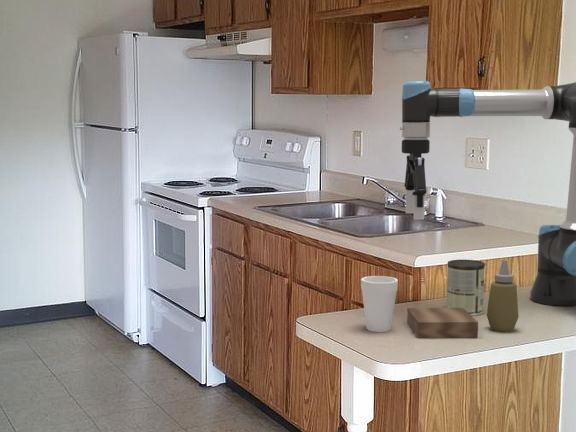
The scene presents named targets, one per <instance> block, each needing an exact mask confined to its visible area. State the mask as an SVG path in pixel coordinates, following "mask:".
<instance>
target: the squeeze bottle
mask: <svg viewBox="0 0 576 432" xmlns="http://www.w3.org/2000/svg"><path fill="white" fill-rule="evenodd" d="M517 288H518V287H517V284H516V283H514V275H513V274H511V273H510V271H509V265H508V261H507V260H501V264H500V268H499V272H498V273H497V272H496V273H495V274H494V281H492V282H491V283H490V288H489V295H488V304H487V311H486V317H487V320H488V321H487V322H488V324H489V327H490V329H491V330H494V331H498V332H512V331H514V330H515V328H516V325H517V322H518V320H519V304H518V303H519V302H518V291H517V290H518V289H517Z"/></svg>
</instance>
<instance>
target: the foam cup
mask: <svg viewBox="0 0 576 432" xmlns="http://www.w3.org/2000/svg"><path fill="white" fill-rule="evenodd" d="M398 281H399V279H398V278H396V277H393V276H392V277H391V276H386V275H385V276H384V275H371V276H365V277H362V278H361V279H360V289H361V292H362V293H361V294H362V300H363V301H362V302H363V310H364V318H365V320H364V321H365V327H366V330H367V329H368V330H367V331H370V332H373V333H374V332H375V333H385V332H389V330H390V331H391V329H392V323H393V316H394V311H395V303H396V296H397V291H398V288H399V287H398V286H399V283H398Z"/></svg>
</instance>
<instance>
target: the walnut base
mask: <svg viewBox="0 0 576 432" xmlns="http://www.w3.org/2000/svg"><path fill="white" fill-rule="evenodd" d="M406 312H407V314H406V319H407V320H406V323H407V325H408V326H409V327H410V329H411V330H412V331H413V333H414V335H415V337H417V339H468V338H469V339H474V338H475V339H477V338H478V337H479V336H478V335H479V321H478V320H476V318H474V317H473V316H471V315H470V314H469V313H468V312H467V311H466V310H465V309H464V308H447V307H407V311H406Z"/></svg>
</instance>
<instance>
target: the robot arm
mask: <svg viewBox="0 0 576 432" xmlns="http://www.w3.org/2000/svg"><path fill="white" fill-rule="evenodd" d="M401 94H402V96H401V103H402V104H401V106H402V107H401V108H402V109H401V110H402V111H401V114H402V115H401V117H402V119H401V126H400V127H399V130H400V131H401V137H402V138H403V139H402V140H401V152H402V154H407V156H406V168H405V169H406V170H405V178H404V185H403V186H404V188H405V214H413V220H418V221H419V220H420V221H421V220H422V221H423V220H425V202H426V201H425V194H427V184H426V183H427V182H426V172H425V171H426V169H425V162H426V161H425V160H426V159H425V157H422V154H424V155H425V154H430V150H431V149H430V148H431V147H430V143H431V141H430V140H429V139H428V138H430V137H431V117H434V118H445V117H451V118H452V117H453V118H454V117H455V118H456V117H458V118H459V117H460V118H462V117H542V118H543V119H544V120H557V121H564V122H568V130H569V131H570V133H572V134H573V138H572V139H573V140H572V141H573V142H572V149H571V150H572V151H571V162H570V171H569V173H570V174H569V183H568V192H567V193H568V194H567V195H568V196H567V205H566V206H567V207H566V215H565V216H566V217H565V221H564V222H562V223H561V224H543V225H541V226H540V227H539V231H538V236H537V237H538V245H537V246H538V249H537V272H536V276H535V280H534V282H533V285H532V286H531V289H530V293H529V296H530V297H529V298H530V300H531V301H533V302H535V303H539V304H542V305H547V304H548V305H549V306H556V305H557V306H560V307H571V306H570V305H574V306H576V81H575V82H571V83H565V84H561V85H546V86H544V87H543V88H542V89H471V88H463V87H462V88H433V87H432V86H431V82H430V81H427V80H426V81H425V80H419V81H417V80H413V81H412V80H411V81H410V80H409V81H405V82H404V83H403V85H402V93H401Z"/></svg>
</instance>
